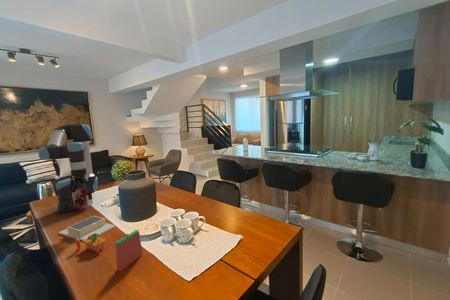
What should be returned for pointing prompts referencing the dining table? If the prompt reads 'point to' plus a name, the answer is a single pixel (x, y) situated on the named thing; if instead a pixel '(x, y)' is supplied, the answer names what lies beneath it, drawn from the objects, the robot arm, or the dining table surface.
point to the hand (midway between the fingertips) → (83, 203)
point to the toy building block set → (117, 247)
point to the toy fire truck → (80, 198)
